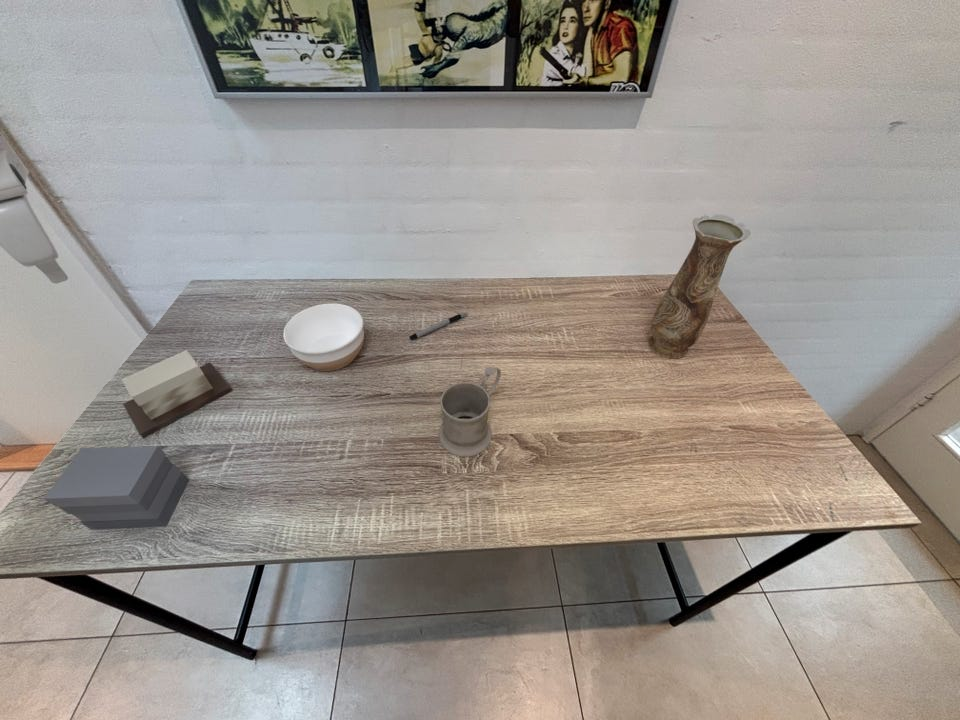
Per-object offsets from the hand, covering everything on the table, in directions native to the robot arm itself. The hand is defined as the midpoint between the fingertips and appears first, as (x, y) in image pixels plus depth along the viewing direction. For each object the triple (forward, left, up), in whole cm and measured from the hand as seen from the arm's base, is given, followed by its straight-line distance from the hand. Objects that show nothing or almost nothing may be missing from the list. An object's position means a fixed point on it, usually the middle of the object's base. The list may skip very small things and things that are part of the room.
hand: (53, 266), depth 59 cm
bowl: (+31, -12, -30) cm, 45 cm away
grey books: (-9, -21, -30) cm, 38 cm away
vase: (+87, -64, -30) cm, 112 cm away
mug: (+39, -48, -30) cm, 68 cm away
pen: (+54, -22, -30) cm, 65 cm away
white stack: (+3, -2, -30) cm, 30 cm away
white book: (+3, -2, -25) cm, 25 cm away
